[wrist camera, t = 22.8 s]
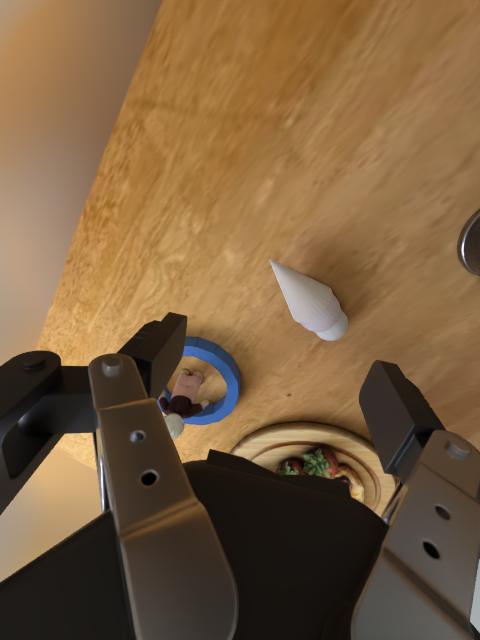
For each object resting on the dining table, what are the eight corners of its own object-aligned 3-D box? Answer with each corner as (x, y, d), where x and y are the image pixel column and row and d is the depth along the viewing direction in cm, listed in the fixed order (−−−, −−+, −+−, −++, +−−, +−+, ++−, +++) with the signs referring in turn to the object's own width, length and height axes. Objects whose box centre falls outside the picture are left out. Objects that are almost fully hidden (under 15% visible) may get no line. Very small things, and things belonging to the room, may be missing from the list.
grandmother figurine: (174, 385, 50) (142, 445, 39) (170, 367, 48) (136, 423, 37) (217, 386, 49) (198, 448, 38) (215, 368, 47) (194, 425, 36)
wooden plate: (410, 520, 57) (429, 571, 49) (261, 538, 66) (258, 583, 58) (366, 398, 46) (383, 439, 39) (195, 440, 55) (182, 480, 48)
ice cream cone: (268, 244, 38) (334, 315, 43) (242, 279, 36) (313, 348, 42) (298, 233, 32) (368, 317, 38) (268, 274, 31) (346, 355, 36)
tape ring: (254, 358, 46) (253, 369, 43) (223, 424, 52) (220, 436, 50) (162, 322, 45) (155, 330, 42) (142, 393, 52) (135, 404, 49)
